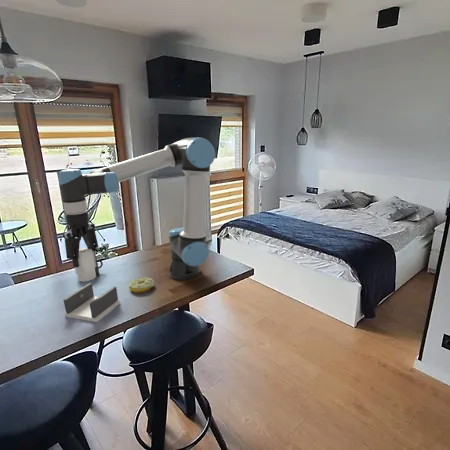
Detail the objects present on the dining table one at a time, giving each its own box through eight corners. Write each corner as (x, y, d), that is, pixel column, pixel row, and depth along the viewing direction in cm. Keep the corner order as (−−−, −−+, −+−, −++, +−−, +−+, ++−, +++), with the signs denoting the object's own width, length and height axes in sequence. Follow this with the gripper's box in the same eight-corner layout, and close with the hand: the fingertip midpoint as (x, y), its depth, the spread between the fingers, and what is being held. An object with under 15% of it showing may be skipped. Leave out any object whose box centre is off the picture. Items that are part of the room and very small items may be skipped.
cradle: (120, 303, 130) (117, 286, 128) (97, 322, 117) (93, 304, 115) (90, 298, 135) (87, 282, 133) (65, 316, 122) (61, 299, 120)
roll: (99, 275, 124) (95, 248, 121) (87, 282, 119) (83, 254, 115) (86, 273, 126) (82, 246, 123) (74, 280, 121) (69, 252, 117)
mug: (107, 274, 158) (104, 257, 156) (82, 281, 151) (78, 264, 148) (101, 268, 165) (98, 252, 163) (76, 275, 158) (73, 258, 156)
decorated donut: (159, 287, 143) (158, 280, 142) (138, 296, 135) (137, 289, 134) (145, 281, 149) (144, 273, 148) (125, 289, 142) (124, 282, 141)
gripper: (87, 206, 125) (95, 260, 131) (46, 218, 108) (58, 280, 114) (102, 206, 123) (110, 261, 129) (63, 219, 105) (75, 282, 112)
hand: (86, 270), depth 122 cm, fingers closed on roll, 6 cm apart
